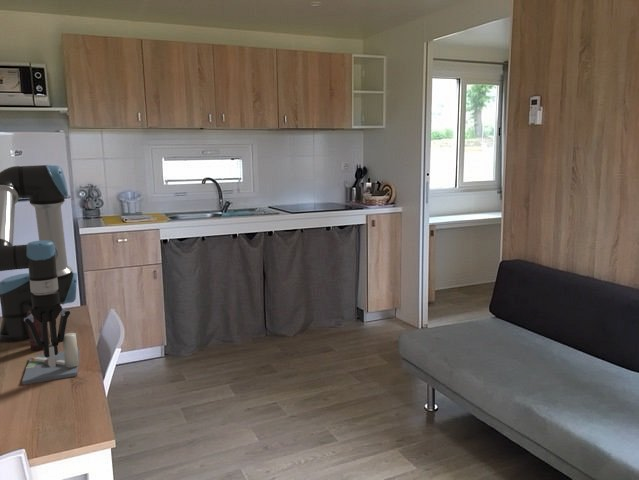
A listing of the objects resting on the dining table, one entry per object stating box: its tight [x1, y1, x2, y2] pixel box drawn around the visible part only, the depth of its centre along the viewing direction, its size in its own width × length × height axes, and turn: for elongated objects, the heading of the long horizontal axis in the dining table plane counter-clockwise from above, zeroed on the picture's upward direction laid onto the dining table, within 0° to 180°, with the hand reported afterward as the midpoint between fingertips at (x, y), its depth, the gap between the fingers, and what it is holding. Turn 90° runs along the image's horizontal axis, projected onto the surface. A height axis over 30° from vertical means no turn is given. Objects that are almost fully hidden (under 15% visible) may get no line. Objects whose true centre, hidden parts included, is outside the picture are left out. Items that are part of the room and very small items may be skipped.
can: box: [27, 310, 51, 351], centre depth 188 cm, size 6×6×14 cm
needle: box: [30, 332, 80, 368], centre depth 170 cm, size 19×4×10 cm, turn 71°
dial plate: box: [21, 348, 81, 386], centre depth 171 cm, size 22×15×1 cm
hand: (52, 365), depth 164 cm, fingers closed
